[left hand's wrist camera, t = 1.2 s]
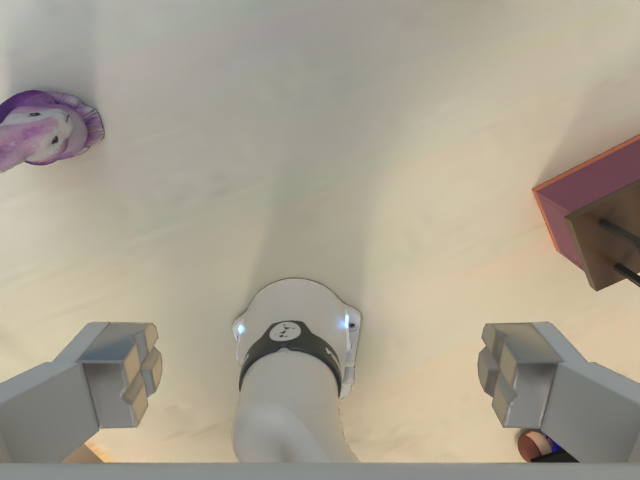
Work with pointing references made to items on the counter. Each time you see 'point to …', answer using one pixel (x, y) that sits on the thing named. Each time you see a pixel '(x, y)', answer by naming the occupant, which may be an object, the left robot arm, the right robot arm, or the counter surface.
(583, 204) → the chest
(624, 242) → the lid
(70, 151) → the figurine
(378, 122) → the counter surface
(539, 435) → the black toy vehicle
